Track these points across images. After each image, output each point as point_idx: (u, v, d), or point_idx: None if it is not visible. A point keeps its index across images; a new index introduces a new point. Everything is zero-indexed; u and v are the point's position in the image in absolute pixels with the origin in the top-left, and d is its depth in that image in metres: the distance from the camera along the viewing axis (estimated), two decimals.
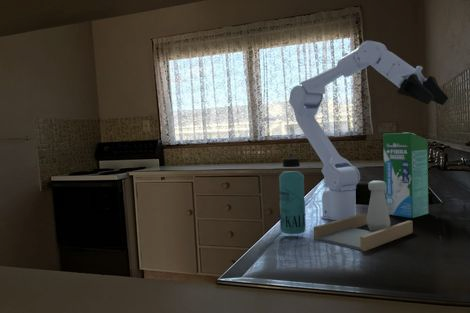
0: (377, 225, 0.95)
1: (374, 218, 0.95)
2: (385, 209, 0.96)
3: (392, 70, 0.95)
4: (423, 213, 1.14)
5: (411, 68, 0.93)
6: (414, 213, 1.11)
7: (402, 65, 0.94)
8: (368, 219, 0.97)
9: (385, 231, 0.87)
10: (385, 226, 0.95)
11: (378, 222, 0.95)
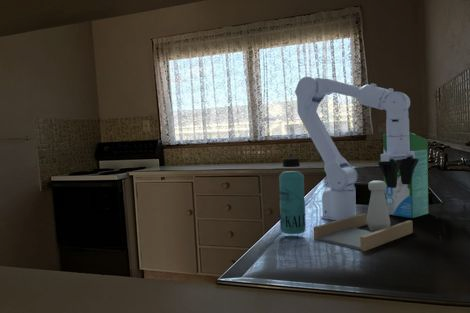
0: (377, 225, 0.95)
1: (374, 218, 0.95)
2: (385, 209, 0.96)
3: (392, 138, 1.01)
4: (423, 213, 1.14)
5: (406, 149, 1.00)
6: (414, 213, 1.11)
7: (402, 141, 1.00)
8: (368, 219, 0.97)
9: (385, 231, 0.87)
10: (385, 226, 0.95)
11: (378, 222, 0.95)
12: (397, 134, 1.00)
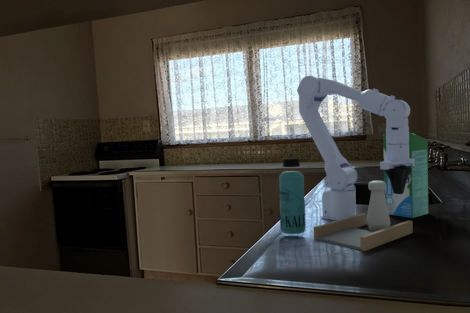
0: (377, 225, 0.95)
1: (374, 218, 0.95)
2: (385, 209, 0.96)
3: (392, 146, 1.01)
4: (423, 213, 1.14)
5: (405, 157, 1.00)
6: (414, 213, 1.11)
7: (402, 149, 1.00)
8: (368, 219, 0.97)
9: (385, 231, 0.87)
10: (385, 226, 0.95)
11: (378, 222, 0.95)
12: (397, 142, 1.00)
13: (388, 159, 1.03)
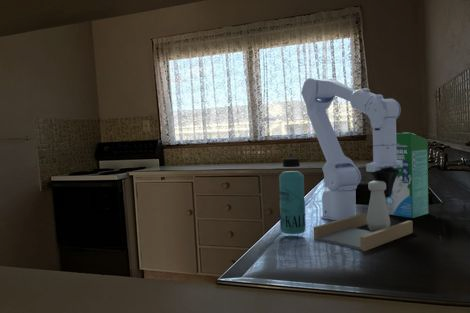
0: (377, 225, 0.95)
1: (374, 218, 0.95)
2: (385, 209, 0.96)
3: (379, 148, 0.97)
4: (423, 213, 1.14)
5: (392, 159, 0.96)
6: (414, 213, 1.11)
7: (388, 151, 0.96)
8: (368, 219, 0.97)
9: (385, 231, 0.87)
10: (385, 226, 0.95)
11: (378, 222, 0.95)
12: (378, 143, 0.97)
13: (375, 161, 0.99)
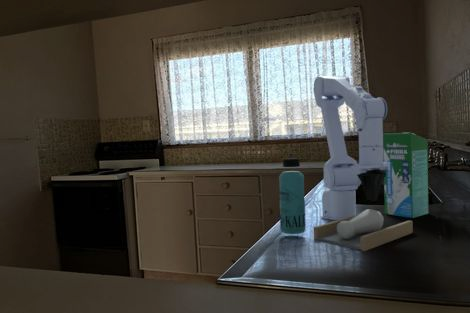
0: None
1: None
2: (368, 228, 0.91)
3: (364, 149, 0.93)
4: (423, 213, 1.14)
5: (378, 160, 0.92)
6: (414, 213, 1.11)
7: (374, 152, 0.92)
8: None
9: (385, 231, 0.87)
10: (380, 227, 0.93)
11: None
12: (361, 144, 0.94)
13: (360, 163, 0.95)
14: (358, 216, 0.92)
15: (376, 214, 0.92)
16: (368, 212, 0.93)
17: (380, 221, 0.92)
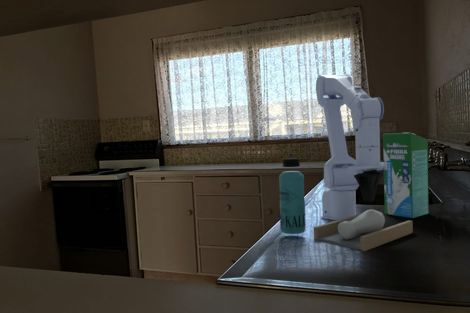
0: None
1: None
2: (369, 230, 0.90)
3: (361, 149, 0.92)
4: (423, 213, 1.14)
5: (375, 161, 0.92)
6: (414, 213, 1.11)
7: (371, 152, 0.91)
8: None
9: (385, 231, 0.87)
10: None
11: None
12: (357, 145, 0.93)
13: (357, 163, 0.94)
14: (360, 217, 0.91)
15: (378, 216, 0.92)
16: (370, 213, 0.92)
17: (381, 223, 0.91)
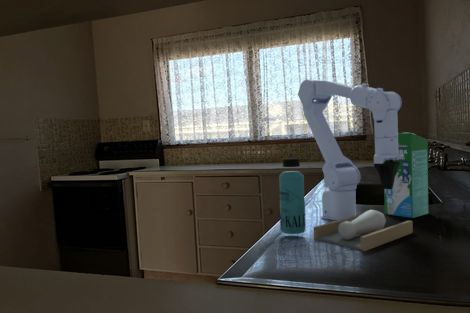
0: None
1: None
2: (370, 230, 0.90)
3: (383, 140, 0.97)
4: (423, 213, 1.14)
5: (396, 150, 0.97)
6: (414, 213, 1.11)
7: (393, 142, 0.97)
8: None
9: (385, 231, 0.87)
10: None
11: None
12: (381, 135, 0.97)
13: (378, 153, 0.98)
14: (361, 217, 0.91)
15: (379, 217, 0.91)
16: (371, 213, 0.92)
17: (382, 224, 0.91)
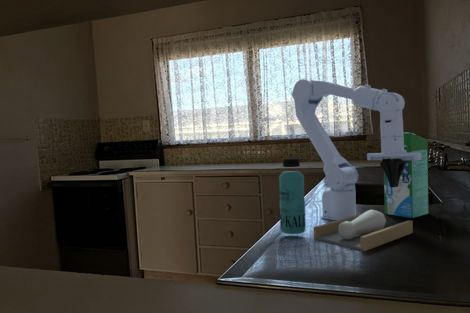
0: None
1: None
2: (370, 230, 0.90)
3: (402, 138, 1.01)
4: (423, 213, 1.14)
5: None
6: (414, 213, 1.11)
7: None
8: None
9: (385, 231, 0.87)
10: None
11: None
12: (390, 135, 1.00)
13: (399, 152, 1.00)
14: (361, 217, 0.91)
15: (379, 217, 0.91)
16: (371, 213, 0.92)
17: (382, 224, 0.91)
